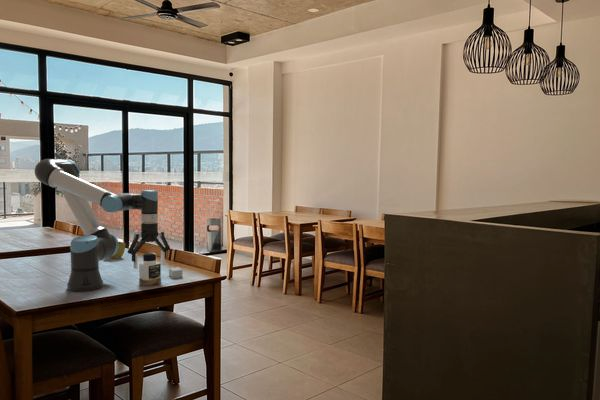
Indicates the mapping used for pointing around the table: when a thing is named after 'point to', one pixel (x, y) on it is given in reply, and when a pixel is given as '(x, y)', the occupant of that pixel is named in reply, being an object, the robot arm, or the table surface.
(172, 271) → the grey junction box
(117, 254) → the flower pot
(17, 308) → the table surface
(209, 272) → the table surface
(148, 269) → the medicine bottle
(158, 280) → the pedestal
